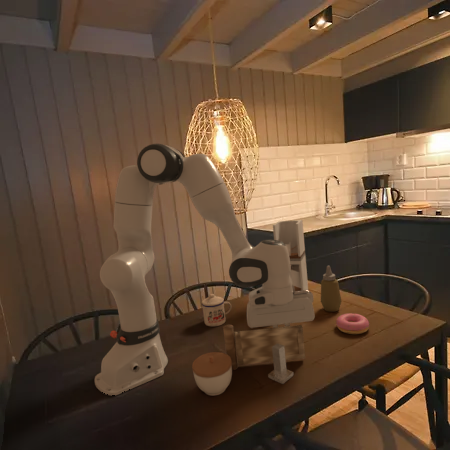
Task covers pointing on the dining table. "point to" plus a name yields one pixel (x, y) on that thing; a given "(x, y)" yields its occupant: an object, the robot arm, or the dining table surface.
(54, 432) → the dining table surface
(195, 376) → the lidded jar
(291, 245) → the tiered white shelf
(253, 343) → the wooden panel
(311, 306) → the robot arm
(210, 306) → the teacup with lid
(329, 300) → the squeeze bottle
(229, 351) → the hinge post
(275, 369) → the stop post
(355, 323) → the doughnut
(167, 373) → the dining table surface
